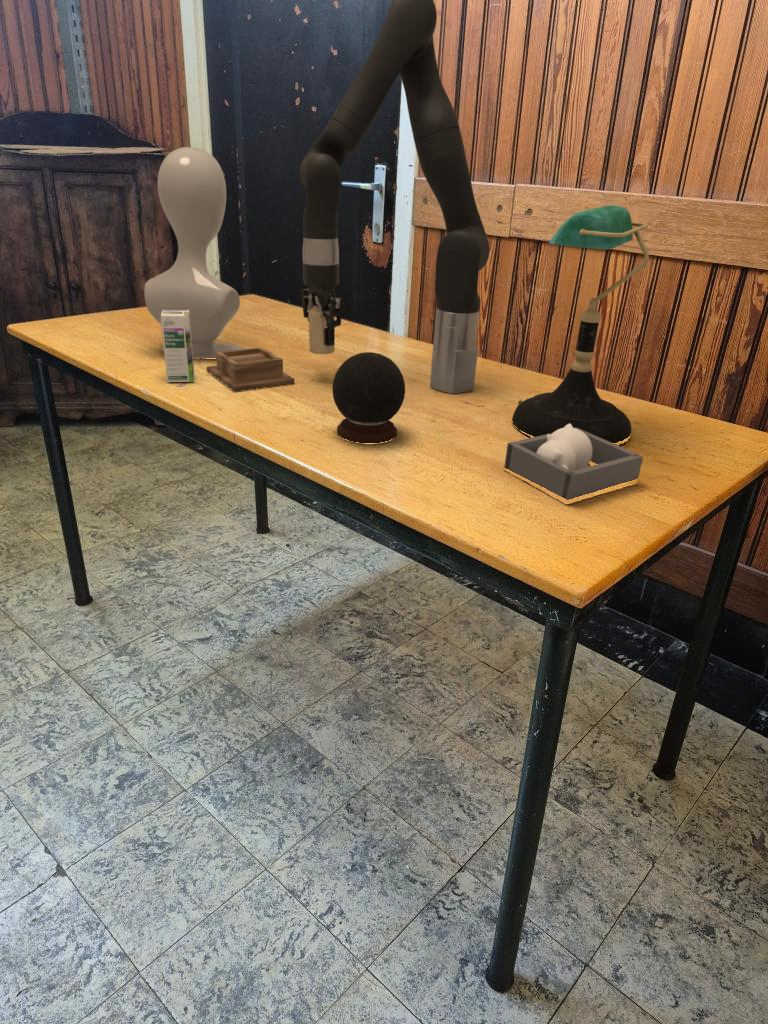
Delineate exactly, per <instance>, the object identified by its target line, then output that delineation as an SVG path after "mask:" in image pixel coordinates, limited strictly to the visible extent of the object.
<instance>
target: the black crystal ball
mask: <svg viewBox="0 0 768 1024" xmlns="http://www.w3.org/2000/svg"><path fill="white" fill-rule="evenodd" d="M331 390H332V397H333V401H334V404H335V405H336V406H335V407H336V408H337V409H338V411H339V412H340V413H341V415H342V416H343V417H344V419H342V420H341V421H340V423H339V424H338V425H337V427H336V434H337V433H338V434H337V436H338V435H339V436H341V437H342V438H344V439H347V440H349V441H353V442H359V443H380V442H385V441H389V440H391V439H393V438H395V437H396V436H398V429H397V427H396V426H395V424H394V423H393V422H392V421H391V420H392V419H393V417H394V416H395V415H396V414H397V413H399V411H400V409H401V408H402V405H403V403H404V400H405V396H406V395H405V394H406V383H405V379H404V375H403V373H402V371H401V370H400V368H399V367H398V365H397V363H395V362H394V361H393V360H392V359H391V358H389V357H388V356H386V355H383V354H381V353H376V352H372V351H371V352H370V351H369V352H367V351H366V352H365V351H364V352H359V353H357V354H355V355H351V356H350V357H348V358H347V359H345V360H344V361H343V363H341V365H340V366H339V367H338V368H337V371H336V373H335V374H334V377H333V380H332V388H331ZM339 436H338V437H339ZM342 438H341V439H342ZM396 438H397V437H396ZM396 438H395V439H396Z"/></svg>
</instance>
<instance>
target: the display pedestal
mask: <svg viewBox="0 0 768 1024" xmlns="http://www.w3.org/2000/svg"><path fill="white" fill-rule="evenodd" d="M215 361H216V365H209V366H206V372H207V371H208V372H209V373H211V374H212V375H213V376H215V377H216V378H218V379H219V380H220V381H222V382H223V383H224V384H225V385H227V386H228V387H229V388H231V389H232V390H233V391H240V392H242V391H241V390H247V391H250V390H249V389H255V390H257V389H256V388H262V389H264V388H263V387H269V388H272V387H271V386H277V387H280V386H279V385H284V386H288V385H287V384H291V385H295V378H294V377H292V376H290V375H289V374H287V373H286V372H284V359H283V358H282V357H279V356H278V355H276V354H275V353H272V352H271V351H269V350H267V349H265V348H264V347H262V346H261V347H252V348H242V349H241V350H232V351H222V352H216V359H215ZM208 372H207V373H208ZM209 373H208V374H209ZM212 375H211V376H212ZM213 376H212V377H213ZM216 378H215V379H216ZM220 381H219V382H220ZM224 384H223V385H224ZM225 385H224V386H225ZM227 386H226V387H227ZM228 387H227V388H228ZM229 388H228V389H229ZM231 389H230V390H231ZM232 390H231V391H232ZM233 391H232V392H233Z"/></svg>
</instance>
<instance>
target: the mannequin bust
mask: <svg viewBox="0 0 768 1024" xmlns="http://www.w3.org/2000/svg"><path fill="white" fill-rule="evenodd" d="M157 176H158V177H157V192H158V198H159V200H160V201H159V202H160V205H161V207H162V210H163V212H164V214H165V216H166V218H167V220H168V222H169V224H170V226H171V228H172V230H173V231H174V235H175V237H176V240H177V247H178V249H177V255H176V260H175V262H174V263H173V265H172V266H171V267H170V268H169V269H167V270H166V271H163V272H162V273H159V274H158V275H155V276H153V277H152V278H150V279H148V280H147V281H146V282H145V284H144V289H143V290H144V293H143V294H144V295H143V296H144V301H145V307H146V309H147V311H148V312H149V314H150V315H151V316H152V317H153V318H154V320H156V322H158V324H160V325H161V313H162V311H163V310H166V311H186V310H189V312H190V325H191V338H192V350H193V358H203V359H202V360H204V358H205V359H206V358H216V352H222V351H232V350H241V349H243V348H242V347H241V346H239V345H235V344H229V343H214V342H215V341H216V340H217V339H218V338H219V337H220V335H221V333H222V332H223V331H224V330H225V329H226V327H227V325H228V324H229V323H230V321H232V320H233V318H234V317H235V315H236V314H237V313H238V311H239V309H240V303H241V301H240V300H241V299H240V295H239V293H238V291H237V290H236V289H235V288H233V287H232V286H230V285H229V284H226V283H224V282H223V281H221V280H219V279H217V278H215V277H214V276H212V275H211V274H210V273H209V271H208V267H207V250H208V247H209V246H210V244H211V243H212V241H213V240H214V239H215V238H216V237H217V235H218V234H219V231H220V230H221V228H222V225H223V221H224V217H225V212H226V204H227V184H226V178H225V175H224V172H223V169H222V167H221V165H220V164H219V162H218V160H217V159H216V158H215V156H213V155H212V154H211V153H209V152H208V151H206V150H203V149H202V148H197V147H191V146H184V147H183V146H182V147H179V148H175V149H173V150H172V151H171V152H170V153H168V154H167V155H166V157H164V159H163V160H162V163H161V164H160V167H159V170H158V175H157ZM161 351H162V353H164V345H163V344H162V347H161Z"/></svg>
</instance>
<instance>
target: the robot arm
mask: <svg viewBox="0 0 768 1024" xmlns="http://www.w3.org/2000/svg"><path fill="white" fill-rule="evenodd" d="M437 19H438V15H437V8H436V4H435V1H434V0H392V1H391V3H390V5H389V7H388V11H387V15H386V18H385V20H384V22H383V26H382V28H381V31H380V33H379V35H378V37H377V39H376V40H375V41H376V42H375V44H374V45H373V47H372V49H371V51H370V53H369V55H368V57H367V58H366V60H365V62H364V63H363V65H362V68H361V69H360V70H359V73H358V74H357V75H356V77H355V79H354V80H353V82H352V83H351V85H350V86H349V88H348V90H347V91H346V92H345V94H344V96H343V98H342V99H341V101H340V103H339V104H338V106H337V107H336V109H335V111H334V112H333V114H332V115H331V117H330V119H329V120H328V123H327V125H326V126H325V129H324V130H323V131H322V133H321V134H320V136H318V138H317V139H316V140H315V142H314V143H313V145H311V148H310V149H309V150H308V151H307V153H306V155H305V156H304V158H303V160H302V162H301V164H300V167H299V178H300V181H301V183H302V185H303V186H304V187H305V190H306V191H305V192H306V194H305V195H306V196H305V199H306V200H305V203H306V206H305V209H304V211H303V216H302V217H303V218H302V219H303V220H302V225H303V226H302V227H303V228H302V229H303V239H302V241H303V242H302V279H303V284H304V285H305V286H307V287H308V288H304V289H301V290H300V294H301V303H302V304H301V305H302V313H303V318H305V319H307V322H308V323H309V311H310V310H311V309H312V307H313V306H314V305H315V306H317V307H318V310H319V314H320V317H321V318H323V324H324V345H326V346H331V345H334V341H335V340H336V339H335V338H336V337H335V332H334V330H335V329H336V328H337V327H340V326H342V325H341V324H342V315H343V306H344V299H343V298H342V297H336V292H335V290H334V289H335V287H337V286H339V283H340V247H339V238H338V237H339V234H338V232H339V231H338V223H339V222H338V209H339V205H340V196H341V185H342V184H341V182H342V180H341V177H342V176H341V175H342V174H341V170H340V169H341V167H342V165H343V164H344V162H345V160H346V159H347V158H348V156H350V155H351V154H352V153H354V152H355V151H356V150H357V149H358V147H359V145H360V144H361V142H362V141H363V139H364V137H365V135H366V134H367V132H368V131H369V129H370V127H371V126H372V124H373V122H374V120H375V119H376V117H377V115H378V113H379V111H380V109H381V107H382V105H383V104H384V101H385V99H386V97H387V95H388V93H389V92H390V89H391V88H392V86H393V84H394V82H395V80H396V78H397V77H398V75H399V76H400V78H401V82H402V85H403V90H404V93H405V98H406V107H407V112H408V113H407V114H408V118H409V123H410V127H411V133H412V137H413V141H414V147H415V150H416V154H417V159H418V161H419V165H420V168H421V170H422V174H423V175H424V178H425V179H426V181H427V183H428V185H429V188H430V189H431V191H432V193H433V195H434V196H435V199H436V200H437V202H438V205H439V207H440V211H441V212H442V215H443V220H444V226H445V230H446V235H444V236H443V238H442V239H441V241H440V242H439V244H438V249H437V253H436V260H435V277H434V280H435V281H434V294H435V298H436V309H435V321H434V332H433V333H434V334H433V343H432V355H431V356H432V357H431V367H430V370H431V371H430V379H429V380H430V382H429V387H431V388H432V389H434V390H436V391H440V392H444V393H449V394H452V395H453V394H460V393H466V392H472V391H471V390H473V391H474V387H475V379H476V370H477V360H478V351H479V349H478V348H477V347H476V345H477V344H476V343H477V334H478V324H479V318H480V317H479V316H480V307H481V297H480V296H479V293H478V284H479V275H480V273H479V272H480V271H481V270H482V269H484V267H485V266H486V265H487V263H488V260H489V257H490V250H491V249H490V242H489V240H488V236H487V232H486V230H485V227H484V224H483V221H482V218H481V216H480V213H479V210H478V206H477V204H476V199H475V195H474V190H473V184H472V179H471V175H470V170H469V165H468V162H467V157H466V150H465V146H464V145H465V144H464V141H463V137H462V132H461V129H460V125H459V121H458V117H457V113H456V112H455V109H454V107H453V104H452V102H451V100H450V98H449V96H448V93H447V92H446V89H445V87H444V85H443V82H442V80H441V76H440V73H439V72H440V71H439V68H438V64H437V58H436V50H435V44H434V34H435V30H436V27H437ZM324 311H329V312H328V313H325V312H324ZM327 317H329V319H328V320H327Z"/></svg>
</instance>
